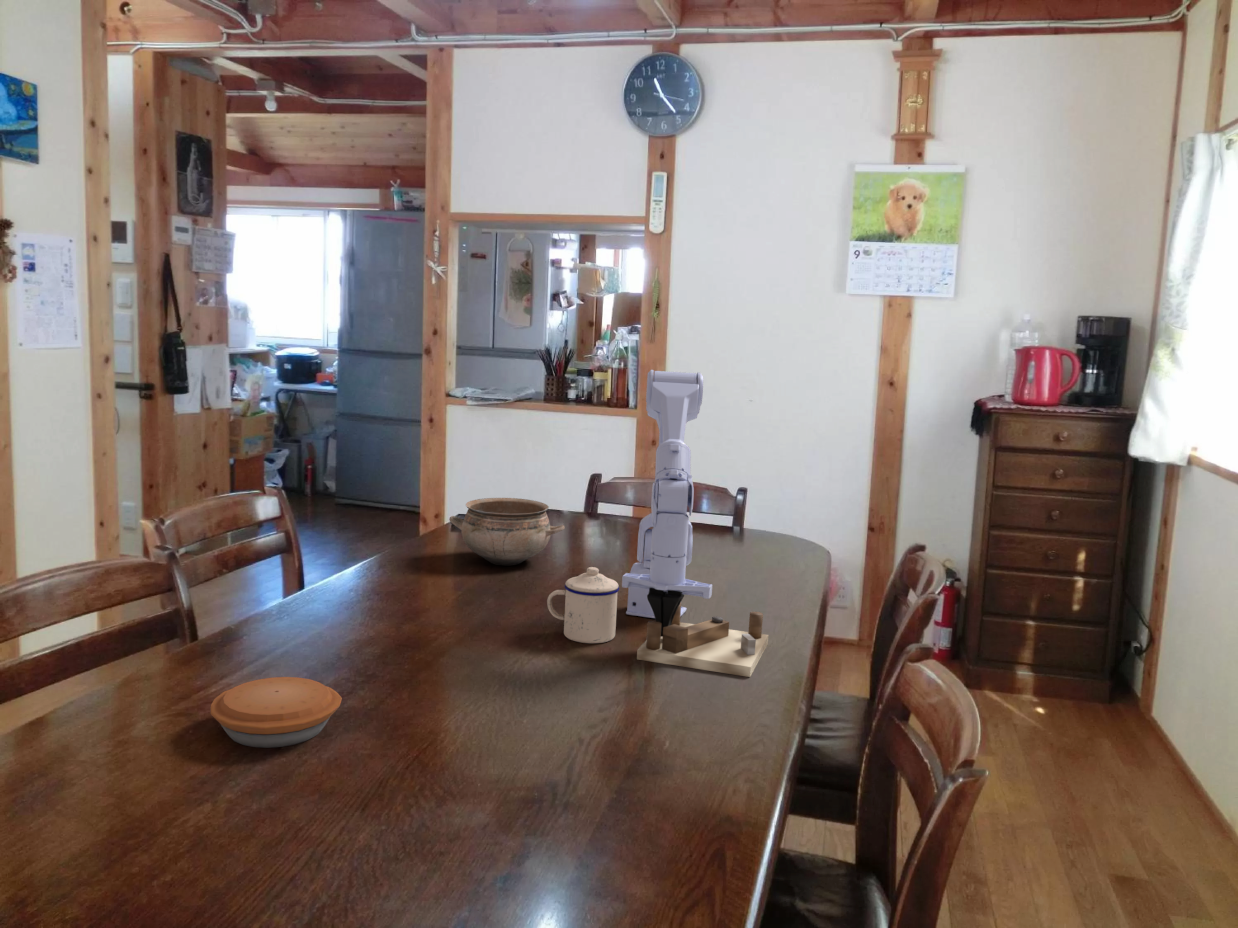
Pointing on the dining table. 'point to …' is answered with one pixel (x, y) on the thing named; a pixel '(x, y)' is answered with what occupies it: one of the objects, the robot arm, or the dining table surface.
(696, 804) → the dining table surface
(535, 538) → the cooking pot
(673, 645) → the folding leg
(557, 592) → the teacup with lid
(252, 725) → the pie
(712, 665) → the stool seat
